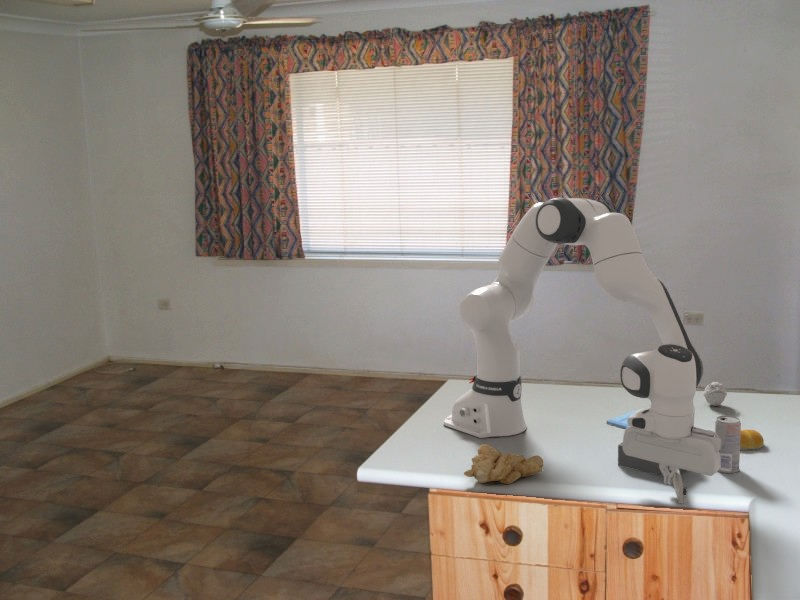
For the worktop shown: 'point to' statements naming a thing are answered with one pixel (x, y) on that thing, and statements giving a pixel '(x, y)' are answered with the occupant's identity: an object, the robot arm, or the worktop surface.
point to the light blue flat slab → (621, 420)
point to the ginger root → (502, 466)
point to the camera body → (639, 463)
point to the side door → (679, 487)
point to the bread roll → (750, 440)
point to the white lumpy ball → (715, 393)
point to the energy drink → (729, 442)
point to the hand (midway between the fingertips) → (668, 483)
